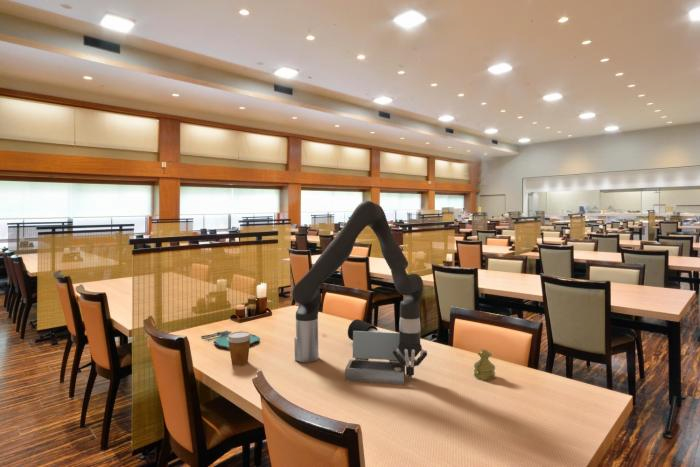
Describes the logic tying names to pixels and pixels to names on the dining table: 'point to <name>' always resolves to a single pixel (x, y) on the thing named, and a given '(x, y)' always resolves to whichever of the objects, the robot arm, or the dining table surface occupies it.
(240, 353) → the disposable coffee cup
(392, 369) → the dark grey tape roll
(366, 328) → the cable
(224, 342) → the cutlery set
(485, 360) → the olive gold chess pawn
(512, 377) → the dining table surface
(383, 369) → the grey rectangular box
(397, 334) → the cover
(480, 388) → the dining table surface
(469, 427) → the dining table surface
